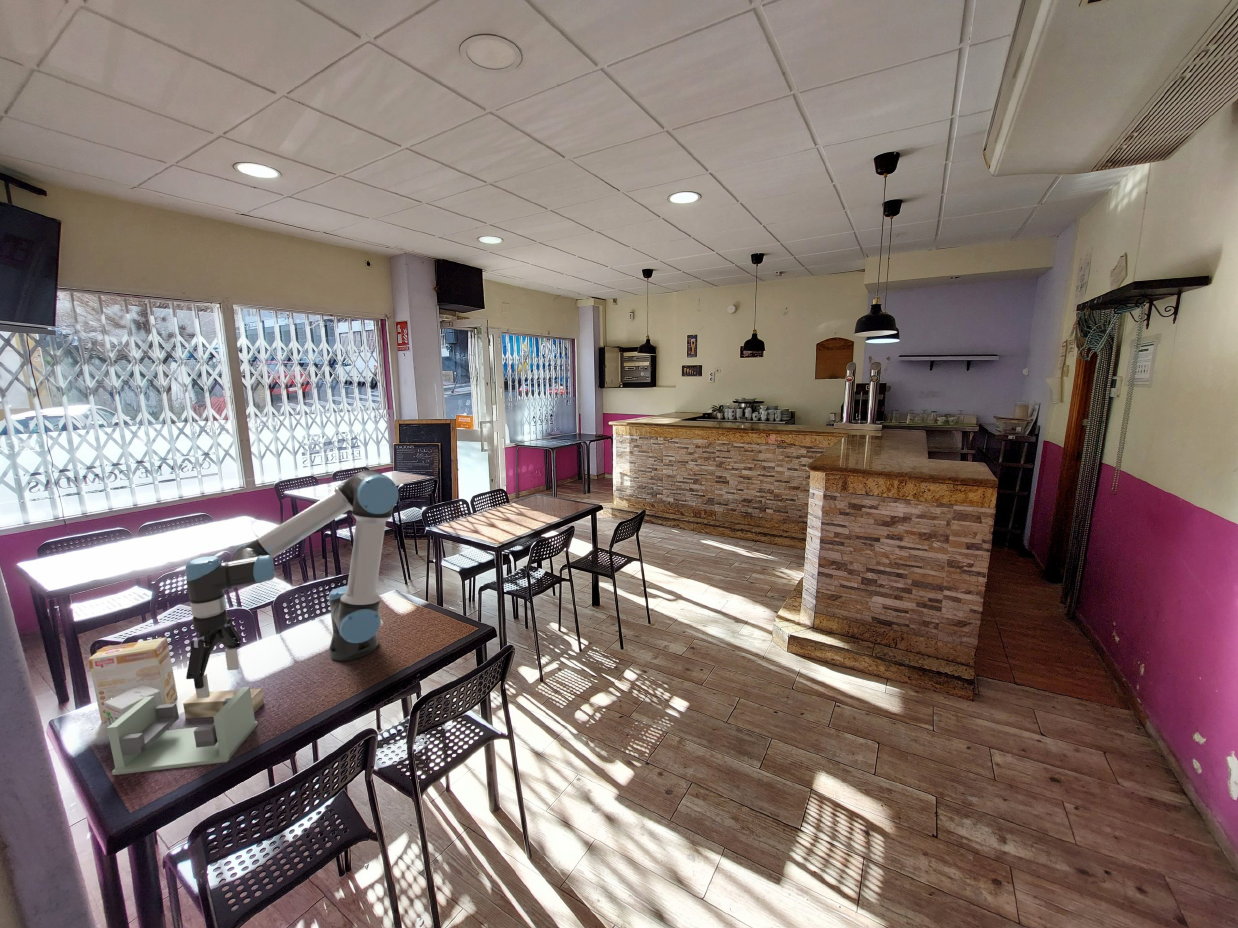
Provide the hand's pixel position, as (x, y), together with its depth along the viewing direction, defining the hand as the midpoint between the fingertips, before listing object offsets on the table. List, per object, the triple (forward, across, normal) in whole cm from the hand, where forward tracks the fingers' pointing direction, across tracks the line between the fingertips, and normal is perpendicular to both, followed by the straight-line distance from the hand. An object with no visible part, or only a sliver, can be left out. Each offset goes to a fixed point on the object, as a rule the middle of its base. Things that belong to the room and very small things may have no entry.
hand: (219, 682), depth 142 cm
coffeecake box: (+10, -5, -24) cm, 27 cm away
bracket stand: (+9, +15, 0) cm, 17 cm away
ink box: (+10, +7, -16) cm, 20 cm away
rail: (+9, 0, 0) cm, 9 cm away
